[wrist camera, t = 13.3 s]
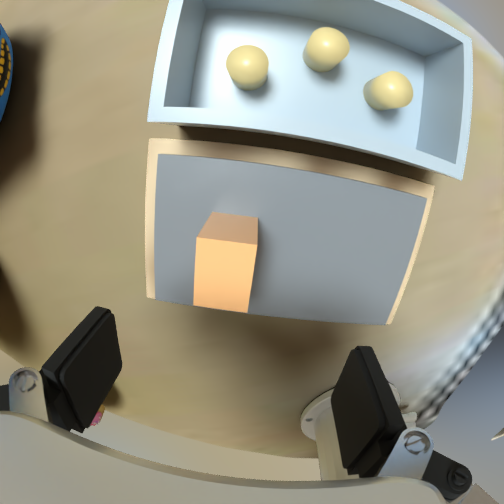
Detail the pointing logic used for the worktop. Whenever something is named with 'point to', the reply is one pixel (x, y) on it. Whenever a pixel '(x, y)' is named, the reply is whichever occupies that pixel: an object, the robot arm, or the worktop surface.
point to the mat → (277, 159)
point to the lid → (280, 240)
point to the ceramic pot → (5, 69)
